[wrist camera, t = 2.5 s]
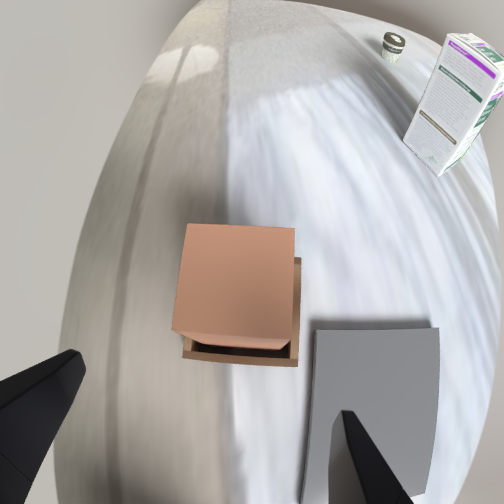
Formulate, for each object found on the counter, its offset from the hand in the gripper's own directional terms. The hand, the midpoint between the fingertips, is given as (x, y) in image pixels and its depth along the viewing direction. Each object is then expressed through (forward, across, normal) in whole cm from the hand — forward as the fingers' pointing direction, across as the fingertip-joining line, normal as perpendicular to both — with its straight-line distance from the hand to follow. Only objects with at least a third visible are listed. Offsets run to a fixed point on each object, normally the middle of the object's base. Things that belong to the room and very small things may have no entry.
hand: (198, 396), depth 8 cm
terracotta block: (+12, 0, +5) cm, 13 cm away
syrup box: (+26, -17, -9) cm, 32 cm away
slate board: (+7, -11, +10) cm, 16 cm away
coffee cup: (+40, -15, -22) cm, 48 cm away
